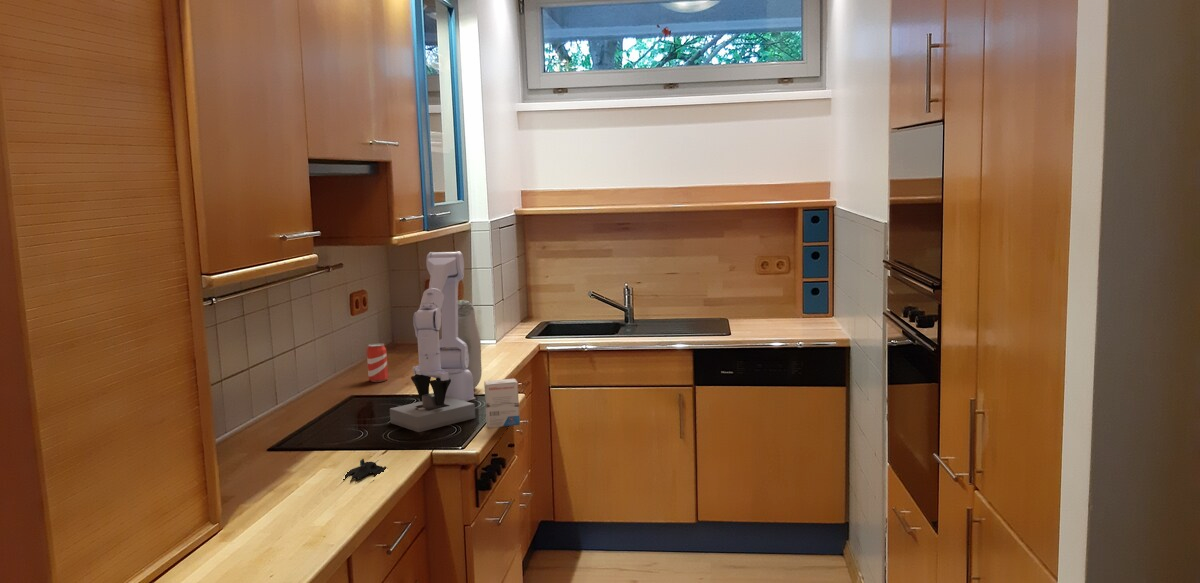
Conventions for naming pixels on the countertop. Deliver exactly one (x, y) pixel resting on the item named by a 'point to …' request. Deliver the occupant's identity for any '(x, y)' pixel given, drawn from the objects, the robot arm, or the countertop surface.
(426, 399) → the dark grey rounded piece
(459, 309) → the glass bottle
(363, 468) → the angular spaceship
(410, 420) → the foam packaging insert
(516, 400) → the ink box
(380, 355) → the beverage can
